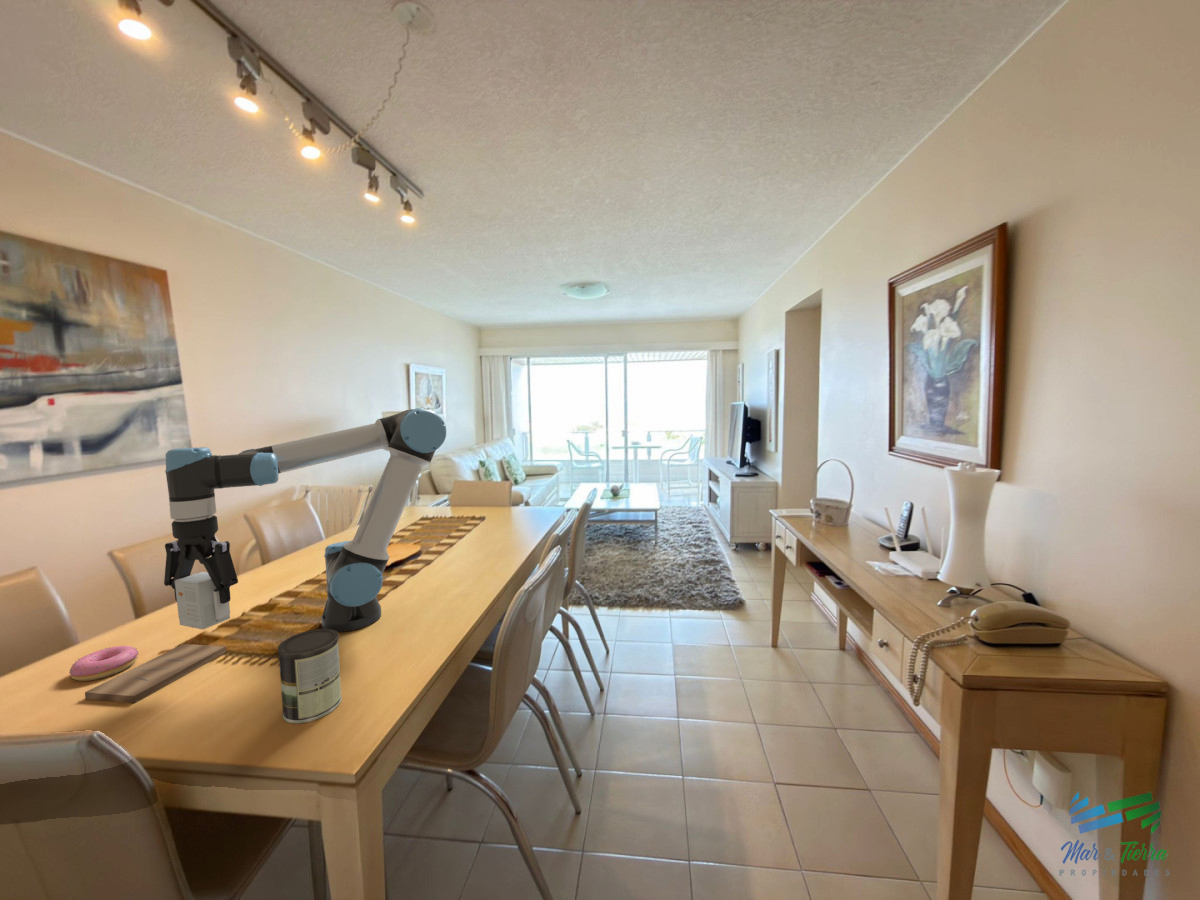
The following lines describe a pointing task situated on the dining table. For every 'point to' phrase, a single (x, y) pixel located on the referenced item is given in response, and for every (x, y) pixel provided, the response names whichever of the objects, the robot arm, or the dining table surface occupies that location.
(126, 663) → the doughnut
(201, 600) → the small box
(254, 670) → the dining table surface
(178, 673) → the board
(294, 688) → the coffee can
